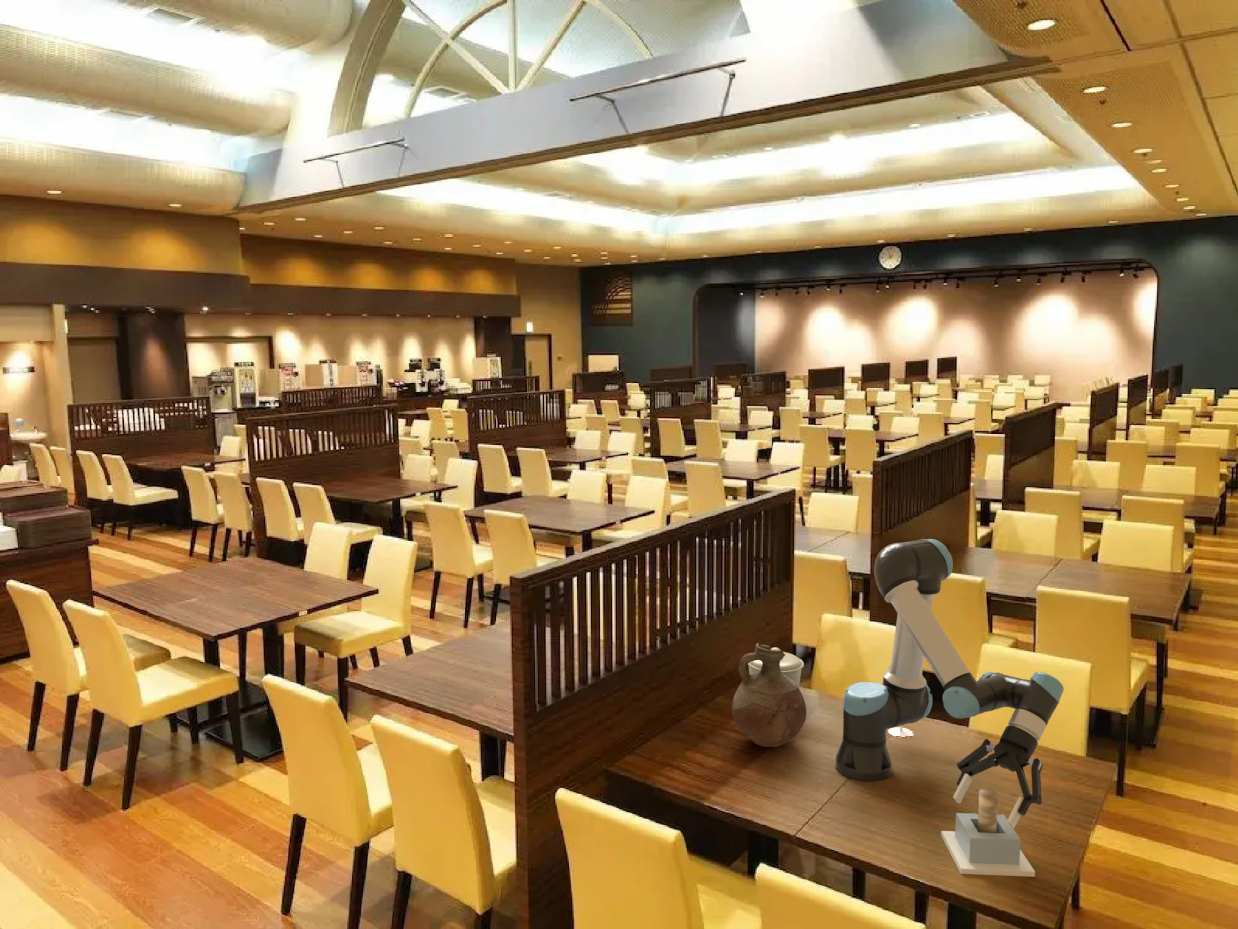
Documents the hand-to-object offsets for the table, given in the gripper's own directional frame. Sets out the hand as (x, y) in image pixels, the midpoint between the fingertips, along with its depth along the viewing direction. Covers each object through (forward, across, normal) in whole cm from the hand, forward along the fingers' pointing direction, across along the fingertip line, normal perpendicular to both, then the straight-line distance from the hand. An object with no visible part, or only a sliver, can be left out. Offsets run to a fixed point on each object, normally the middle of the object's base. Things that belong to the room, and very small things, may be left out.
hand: (982, 813), depth 206 cm
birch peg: (+5, 0, -9) cm, 10 cm away
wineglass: (-22, +54, -38) cm, 69 cm away
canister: (-8, +88, -24) cm, 92 cm away
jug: (+5, +73, -11) cm, 74 cm away
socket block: (+6, 0, -10) cm, 11 cm away
